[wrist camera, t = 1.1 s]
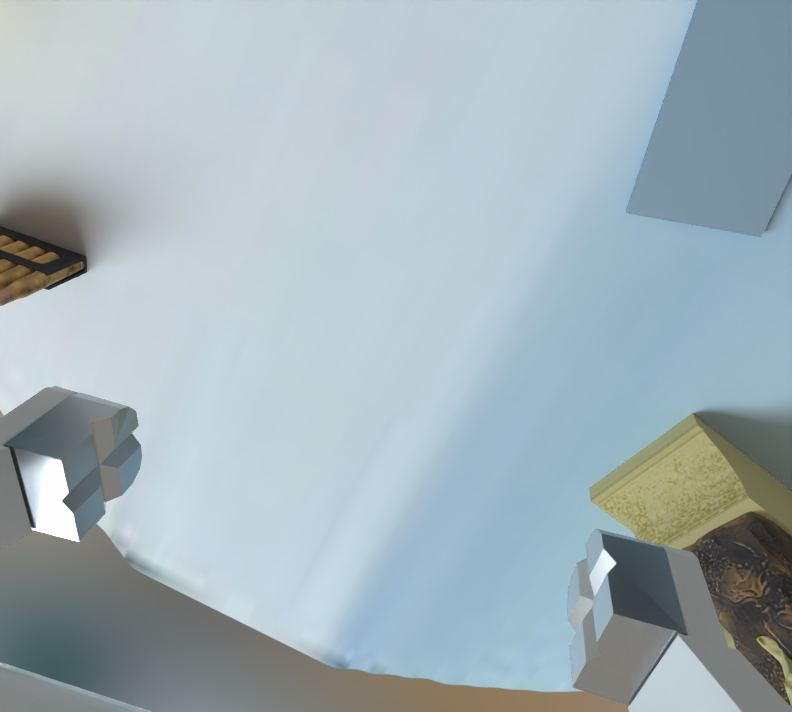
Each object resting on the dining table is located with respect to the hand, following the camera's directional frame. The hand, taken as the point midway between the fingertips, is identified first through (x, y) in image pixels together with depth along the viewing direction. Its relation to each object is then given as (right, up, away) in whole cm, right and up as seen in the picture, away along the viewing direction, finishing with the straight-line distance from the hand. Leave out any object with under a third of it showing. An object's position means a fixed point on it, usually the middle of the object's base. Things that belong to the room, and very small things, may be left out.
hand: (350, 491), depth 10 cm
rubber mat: (+25, +20, +29) cm, 43 cm away
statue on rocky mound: (+36, -15, +46) cm, 60 cm away
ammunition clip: (-36, +14, +48) cm, 61 cm away
